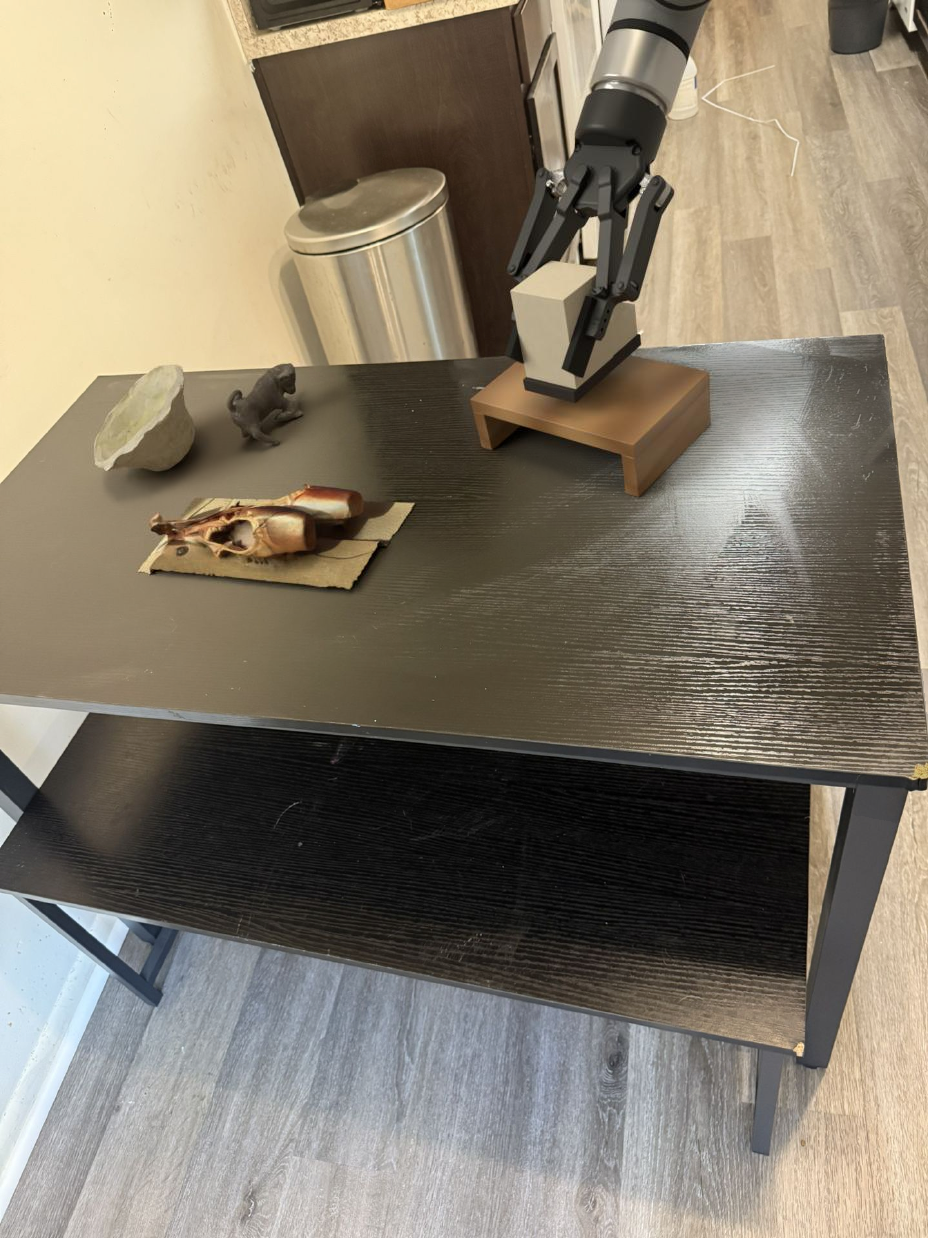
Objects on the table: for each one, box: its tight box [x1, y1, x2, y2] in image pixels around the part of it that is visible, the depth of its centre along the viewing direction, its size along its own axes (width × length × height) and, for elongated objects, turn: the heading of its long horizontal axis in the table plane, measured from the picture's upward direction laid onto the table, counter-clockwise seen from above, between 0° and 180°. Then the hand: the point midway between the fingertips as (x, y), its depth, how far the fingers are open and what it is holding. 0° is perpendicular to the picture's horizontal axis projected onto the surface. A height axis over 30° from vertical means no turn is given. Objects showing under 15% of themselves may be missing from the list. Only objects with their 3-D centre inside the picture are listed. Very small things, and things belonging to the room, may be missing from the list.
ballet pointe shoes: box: [137, 482, 415, 590], centre depth 87 cm, size 14×7×28 cm
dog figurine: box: [226, 362, 304, 446], centre depth 104 cm, size 12×6×7 cm, turn 152°
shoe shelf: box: [469, 354, 712, 498], centre depth 88 cm, size 20×13×6 cm, turn 48°
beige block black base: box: [509, 260, 642, 403], centre depth 81 cm, size 11×6×10 cm, turn 138°
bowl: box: [93, 364, 196, 472], centre depth 103 cm, size 15×14×10 cm
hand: (543, 365), depth 80 cm, fingers closed on beige block black base, 6 cm apart
